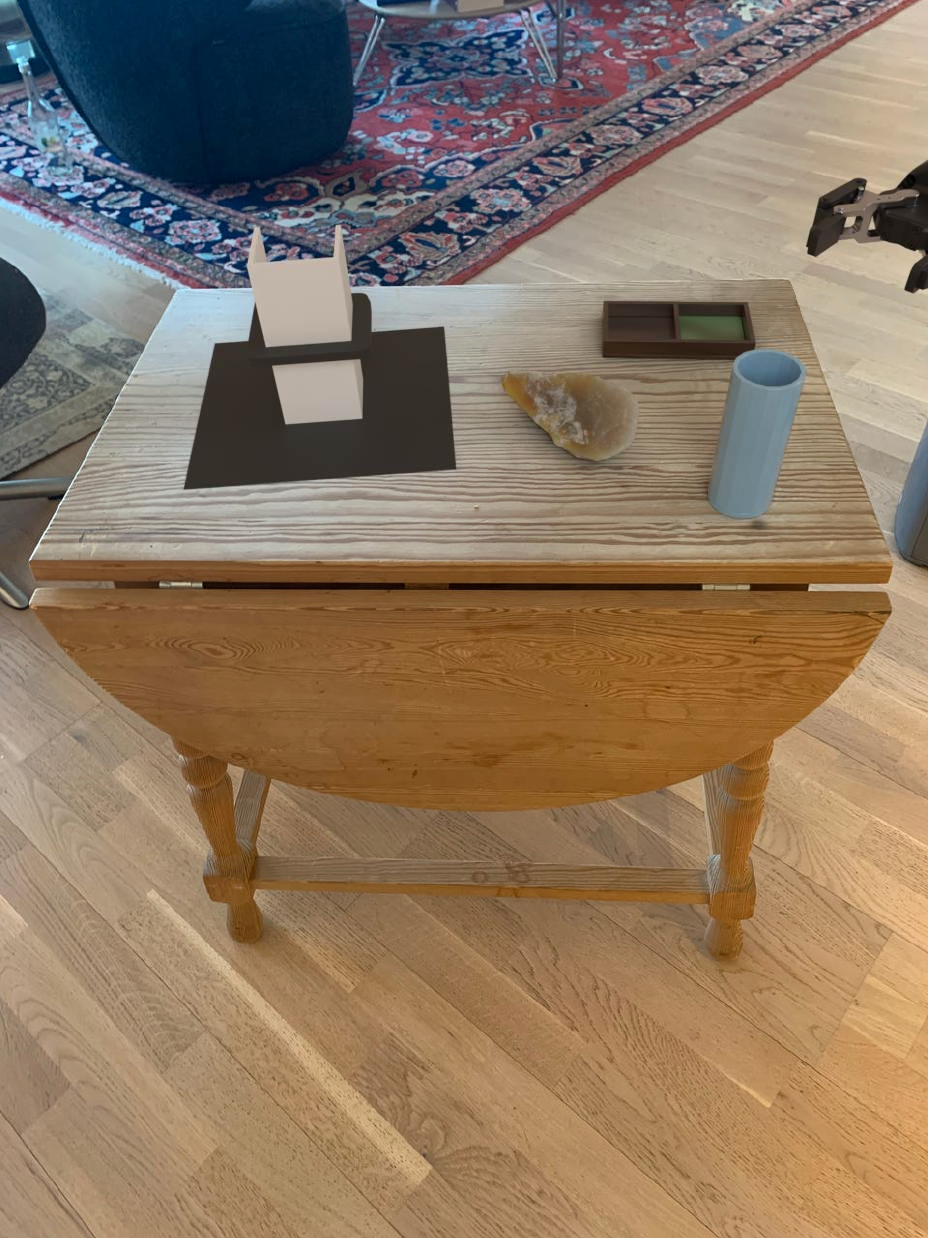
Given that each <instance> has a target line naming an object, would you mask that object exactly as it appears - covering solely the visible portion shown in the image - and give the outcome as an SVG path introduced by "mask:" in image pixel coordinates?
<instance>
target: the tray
mask: <svg viewBox="0 0 928 1238" xmlns="http://www.w3.org/2000/svg"><path fill="white" fill-rule="evenodd" d="M601 320H602V321H601V326H602V327H601V331H602V332H601V333H602V334H601V335H602V337H601V338H602V339H601V340H602V342H601V344H602V345H601V349H602V352H601V353H602V355H601V357H602V358H604V359H605V358H607V359H662V360H663V359H664V360H665V359H668V360H669V359H671V360H731V361H735V359H736V358H737V357H738V356H740V355H741V354H743V353H744V352H748V351H752V350H756V344H757V342H756V341H757V340H756V337H755V331H754V326H753V322H752V315H751V310H750V306H749V301H687V300H686V301H681V300H680V301H678V300H677V301H675V300H603V304H602V319H601Z"/></svg>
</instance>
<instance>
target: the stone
mask: <svg viewBox="0 0 928 1238" xmlns="http://www.w3.org/2000/svg"><path fill="white" fill-rule="evenodd" d="M500 384H501V386H502V388H503V391H504V394H506V395H507V396H508V397H510V398H511V399H512V400H513V401H514V402H515V403H516V405H517V406H518V407H519V408H520V409H521V410H522V411H523V412H525V413H526V414H527V415H529V417H530V419H531V420H532V421H533V422H534V424H536V425H538V426H539V427H540V428H541V429H542V430H544V432H546V433H547V434H549V436H550V438H551V440H552V443H553V445H555V446H557V447H559V448H561V449H563V450H565V451H567V453H568V454H570V455H572V456H574V457H575V458H577V459H580V460H581V459H582V460H586V461H595V462H601V461H602V462H603V461H607V460H609V459H612V458H613V457H615V456H617V455H619V454H621V453H623V452H625V450H627V449H628V448H630V446H631V445H632V443H633V442H634V441H635V439H636V433H637V430H638V423H639V415H640V410H639V409H640V408H639V401H638V399H637V398H636V396H635V394H634V393H633V392H631V391H630V390H629V389H628V388H624V387H623V386H620V385H618V384H615V383H614V382H611V381H608V380H606V379H603V378H602V377H601V376H599V375H593V374H591V373H584V374H576V373H573V372H564V373H561V374H557V373H548V374H547V373H544V372H542V371H537V370H528V369H527V370H525V369H524V370H509V369H508V371H506V372H505V373H504V374H503V375H502V376H501V378H500Z"/></svg>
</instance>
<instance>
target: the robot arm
mask: <svg viewBox="0 0 928 1238" xmlns="http://www.w3.org/2000/svg"><path fill="white" fill-rule="evenodd" d="M867 183H868V180H867V179H866V178H863V177H855V178H854V177H853V178H852V179H850V180H848V181H846V182H845V183H843V184H841V185H840V186H837V187H836V188H834V189H832V190H830V191H829V192H827V193H825V194H823V195H821V196H819V198H818V200H817V205H816V208H815V213H814V216H813V221H812V225H811V227H810V229H809V233H808V236H807V241H806V244H805V248H807V251H806V254H807V255H808V256H811V257H814V258H818V256H820V255H821V254H823V253H825V252H826V251H827V250H828V249H830V248H831V247H833V246H834V245H836V244H838V243H839V241H845V240H855V241H856V242H857V243H858V244H870V243H878V242H887V243H889V244H895V245H898V246H901V247H903V248H905V249H906V250H909V251H912V252H916V251H918V252H919V254H921V256H922V257H921V258H920V259H918V261H916V262H915V263H913V265H912V267H911V268H910V271H909V273H908V276H907V278H906V281H905V282H906V283H905V285H904V289H903V290H904V291H905V292H907V293H910V294H913V295H914V294H915V293H917V292H918V291H919V290H922V291H924V290H927V289H928V159H926V160H925V161H924V162H922V163H920V164H919V165H918V166H915V167H914V168H913V169H912V170H911V171H909V173H907V174H906V175H905V177H903V179H902V180H901V181H900V182H899V183H898V184H897V186H895V188H892V189H888V190H883V191H881V192H880V193H875V192H874V191H870V190H867V189H866V187H867ZM851 217H853V218H855V219H854V222H853V224H852V225H850V226H846V222H847V218H851ZM871 221H873V225H874V228H873V229H871V228H870V226H871ZM869 228H870V229H869Z"/></svg>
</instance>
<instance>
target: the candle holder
mask: <svg viewBox="0 0 928 1238" xmlns="http://www.w3.org/2000/svg"><path fill="white" fill-rule="evenodd" d="M343 237H344V236H343V229H342V224H336V225H335V230H334V243H333V244H334V248H333V256H332V257H319V258H307V259H306V258H305V259H292V260H290V259H289V260H278V261H276V260H275V261H268V260H267V254H266V249H265V246H264V241H263V240H264V239H263V235H262V232H261V227H260V226H254V228H253V233H252V237H251V238H252V239H251V243H250V248H249V254H248V259H247V264H246V268H247V272H248V277H249V281H250V285H251V289H252V294H253V299H254V304H253V310H252V316H251V323H250V329H249V334H248V340H241V341H228V342H215V343H214V346H213V350H212V355H211V360H210V364H209V369H208V374H207V378H206V383H205V387H204V391H203V396H202V397H203V398H202V402H201V406H200V410H199V416H198V420H197V425H196V430H195V434H194V439H193V442H192V448H191V452H190V458H189V462H188V465H187V471H186V475H185V480H184V484H183V490H193V489H194V490H195V489H207V488H219V487H220V488H221V487H222V488H223V487H235V486H249V485H261V484H274V483H288V482H303V481H304V482H305V481H315V480H317V481H318V480H329V479H341V478H342V479H344V478H355V477H356V478H358V477H369V476H370V477H371V476H381V475H382V476H383V475H397V474H410V473H422V472H423V473H424V472H435V471H437V472H438V471H449V470H457V460H456V448H455V439H454V438H455V437H454V427H453V414H452V401H451V392H450V380H449V367H448V356H447V355H448V354H447V345H446V333H445V326H434V327H433V326H432V327H431V326H430V327H419V328H418V327H416V328H404V329H403V328H402V329H391V330H389V329H388V330H379V331H378V330H377V331H376V330H375V331H373V329H372V328H373V309H372V302H371V299H370V298H369V296H368V294H367V293H364V292H352V290H351V284H350V278H349V271H348V263H347V257H346V250H345V243H344V238H343Z"/></svg>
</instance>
